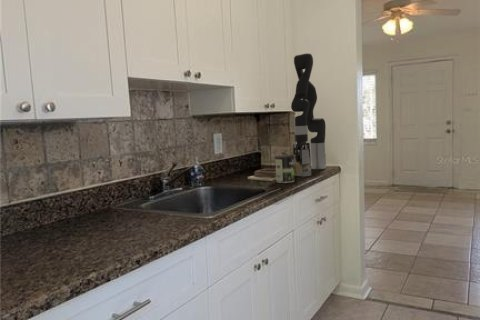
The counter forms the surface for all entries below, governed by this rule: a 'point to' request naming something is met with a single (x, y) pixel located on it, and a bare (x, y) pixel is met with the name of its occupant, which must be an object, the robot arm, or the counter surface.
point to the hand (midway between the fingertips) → (302, 160)
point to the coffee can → (285, 169)
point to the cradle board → (264, 175)
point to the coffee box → (303, 163)
